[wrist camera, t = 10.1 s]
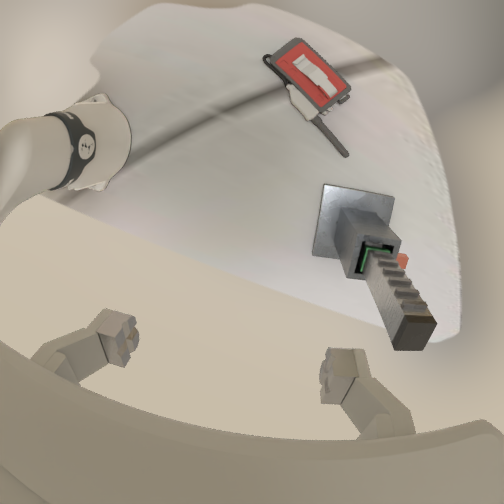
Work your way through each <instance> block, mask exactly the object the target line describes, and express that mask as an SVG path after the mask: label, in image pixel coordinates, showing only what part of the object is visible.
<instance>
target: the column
mask: <svg viewBox="0 0 504 504" xmlns="http://www.w3.org/2000/svg"><path fill="white" fill-rule="evenodd" d="M357 262H358V265H359V267H360V271H362V273H363V275H364V278H365V280H366V282H367V284H368V286H369V289H370V291H371V293H372V296H373V298H374V300H375V303H376V305H377V307H378V310H379V312H380V315H381V317H382V320H383V322H384V325H385V327H386V330H387V332H388V335H389V337H390V340H391V343H392V345H393V348H394V350H396V351H399V350H400V351H401V350H402V351H422V350H423V349H424V347H425V346H426V344H427V342H428V340H429V338H430V336H431V335H432V333H433V331H434V329H435V327H436V325H437V322H436V321H435V319H434V317H433V316H432V314H431V313H430V311H429V309H428V308H427V306H428V305H427V304H426V302H424V301H423V300H422V298H421V297H420V295H419V294H420V293H419V291H418V290H416V289H415V288H414V286H413V285H412V281H411V280H410V279H408V277H407V276H406V274H405V271H404V270H403V269H401V267H400V266H399V263H398V261H396V260H395V259H394V257H393V254H392V253H390V250H389V249H387V248H386V247H385V245H384V244H380V243H374V242H367V241H362V245H361V249H360V253H359V257H358V261H357Z"/></svg>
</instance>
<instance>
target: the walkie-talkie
mask: <svg viewBox="0 0 504 504" xmlns="http://www.w3.org/2000/svg"><path fill="white" fill-rule="evenodd" d="M267 57H270V64H271V65H270V64H269V63H268V62H267V61H266V58H267ZM263 61H264V63H265V64H266V65H267V66H269V67H270V68H271V69H272V70H273V71H274V72H275V73H276V74H277V75H278V76H279V77H280V78H281V79H282V80H283V81H284V83H285V85H286V88H287V89H288V90H289V91H290V98H291V103H292V104H293V105H294V106H295V107H296V108H297V109H298V110H299V112H300V113H301V114H302V115H303V116H304V118H305V119H306V120H307V121H309V120H311V121H312V122H313V123H314V124H315V125H316V126H318V127H319V128H320V130H321V131H322V132H323V133H324V134H325V135H326V136H327V137H328V139H329V140H330V141H331V142H332V143H333V145H334V146H335V147H336V148H337V149H338V150H339V152H340V153H341V154H342V155H343V156H344V157H345V158H347V157H348V156H349V153H348V151H347V150H346V149H345V148H344V146H343V145H342V144H341V143H340V142H339V141H338V139H337V138H336V137H335V136H334V135H333V134H332V132H331V131H330V130H329V129H328V128H327V127H326V126H325V125H324V123H323V122H322V120H321V118H320V117H319V116H318V115H317V114H318V113H322V114H323V115H324V116H325V115H326V114H327V113H328V111H329V112H330V111H331V110H333V108H332V105H333V104H334V103H335V102H337V101H338V100H339V103H340V104H342V103H344V102H345V101H346V100H347V99H349V98H350V95H346V94H347V93H348V92H349V91H350V90H351V86H350V85H349V84H348V83H347V82H346V81H345V80H344V79H343V78H342V77H341V75H340V74H339V73H338V72H337V71H336V70H335V69H334V68H333V67H332V66H331V65H329V64H328V63H327V62H326V60H324V59H323V57H321V55H319V54H318V53H317V52H316V51H315V50H313V48H311V47H310V45H308V43H306V42H305V41H304V40H302V38H294V39H293V40H291V41H290V42H289V43H287V44H286V45H285V46H283V47H282V48H281V49H279V50H278V51H277V52H276V53H274V54H273V55H270V54H266V55H264V56H263ZM287 81H288V83H290V84H291V85H290V84H288V83H287ZM327 110H328V111H327Z"/></svg>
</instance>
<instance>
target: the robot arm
mask: <svg viewBox="0 0 504 504" xmlns="http://www.w3.org/2000/svg"><path fill="white" fill-rule="evenodd" d="M96 100H97V102H96ZM130 145H131V133H130V128H129V124H128V122H127V119H126V118H125V116H124V115H123V113H122V112H121V111H120V110H119V109H117V108H116V107H115V106H113V105H112V104H111V102H110V100H109V98H108V96H107V95H106V94H104V93H102V94H97V95H95V96H93V97H91V98H88V99H86V100H84V101H82V102H79V103H75V104H74V106H71V107H69V108H67V109H66V110H64V111H59V112H53V113H49V114H46V115H44V116H42V117H33V118H24V119H17V120H14V121H11V122H10V123H8V124H7V125H5V126H4V127H3V128H2V129H1V130H0V225H1V223H2V222H3V221H4V220H5V218H6V217H7V216H8V215H9V214H10V212H11V211H12V210H13V209H14V208H15V207H17V206H18V205H19V204H21V203H22V202H24V201H26V200H28V199H29V198H31V197H33V196H35V195H37V194H39V193H42V192H44V191H46V190H50V191H51V190H56V189H61V188H65V187H67V189H68V190H73V189H75V190H81V189H84V188H88V189H92V190H95V191H103V190H104V189H105V188H106V187H107V185H108V183H109V180H110V179H111V178H112V177H113V176H114V175H115V174H116V173H117V172H118V171H119V170H120V169H121V168H122V167H123V165H124V163H125V162H126V160H127V157H128V154H129V151H130ZM135 325H136V319H135V317H134V316H132V315H128V314H124V313H121V312H118V311H113V310H110V309H107V308H106V309H103V310H102V311H101V312H100V313H99V314H98V316H97V317H96V318H95V319H94V320H93V321H92V322H91V324H90V325H89V326H88V327H87V328H86V329H85V328H82V329H80V330H77V331H75V332H72V333H70V334H67V335H65V336H62V337H59V338H57V339H55V340H52V341H50V342H47V343H44V344H43V345H42V346H41V347H40V348H39V350H38V351H37V352H36V353H35V354H34V355H33V357H32V358H31V359H28V358H26V357H25V356H23V355H21V354H20V353H18V352H17V351H15V350H14V349H12V348H10V347H9V346H8V345H6V344H5V343H3V342H2V341H0V504H504V435H503V434H502V433H501V432H500V431H499V430H498V429H497V428H495V427H494V426H493V425H492V424H491V423H489V422H487V421H486V420H483V419H481V420H476V421H472V422H468V423H465V424H461V425H457V426H453V427H449V428H445V429H440V430H435V431H430V432H425V433H418V434H416V431H415V427H414V423H413V420H412V416H411V413H410V410H409V409H408V408H407V407H406V406H405V405H403V404H402V403H401V402H400V401H399V400H398V399H397V398H396V397H395V396H394V395H393V394H392V393H391V392H390V391H388V390H387V389H386V388H385V387H384V386H383V385H382V384H381V383H380V382H379V381H378V380H377V379H376V378H372V377H371V373H370V369H369V365H368V361H367V358H366V354H365V351H364V349H349V348H331V347H328V349H327V351H326V354H325V355H326V359H325V360H324V361H323V362H322V365H321V368H320V376H319V380H320V383H321V385H322V388H321V391H320V396H321V403H322V404H339V405H341V407H342V408H343V410H344V411H345V413H346V414H347V415H348V417H349V418H350V419H351V421H352V422H353V424H354V425H355V426H356V428H357V429H358V430H359V432H360V433H361V435H360V436H359V437H358V438H357V439H356V440H337V441H336V440H335V441H334V440H333V441H332V440H328V441H327V440H295V439H281V438H270V437H261V436H253V435H246V434H239V433H233V432H226V431H221V430H216V429H211V428H206V427H201V426H197V425H192V424H188V423H184V422H180V421H176V420H173V419H169V418H165V417H162V416H158V415H155V414H152V413H149V412H146V411H142V410H139V409H136V408H134V407H130V406H128V405H125V404H122V403H119V402H117V401H114V400H112V399H109V398H107V397H104V396H102V395H99V394H97V393H95V392H92V391H90V390H87V389H85V388H83V387H81V385H80V384H79V382H80V381H81V380H83V379H85V378H86V377H88V376H89V375H91V374H93V373H94V372H96V371H98V370H99V369H101V368H102V367H104V366H106V365H107V364H108V363H110V364H114V365H117V366H120V367H125V366H126V364H127V362H128V361H129V359H130V358H131V357H130V353H131V352H133V351H135V349H136V348H137V346H138V342H139V332H138V330H137V329H136V328H135Z"/></svg>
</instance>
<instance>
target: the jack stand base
mask: <svg viewBox="0 0 504 504" xmlns="http://www.w3.org/2000/svg"><path fill="white" fill-rule="evenodd" d="M394 200H395V198H394V197H392V196H387V195H382V194H377V193H372V192H367V191H362V190H356V189H351V188H345V187H340V186H334V185H327V184H324V187H323V194H322V200H321V206H320V212H319V218H318V224H317V230H316V235H315V241H314V246H313V251H312V255H313V256H318V257H326V258H333V259H340V261H341V264H342V266H343V269H344V272H345V275H346V278H350V279H358V280H365V278H364V275H363V273H362V271H360V267H359V265H358V262H357V261H358V257H359V253H360V249H361V245H362V241H367V242H374V243H380V244H384V245H385V247H386V248H387V249H389V250H390V253H392V254H393V257H394V259H395V260H396V261H398V263H399V266H400V267H401V269H405V268H406V265H407V262H408V259H409V258H408V257H407V255H406V254H401V253H398V252H399V248H400V245H401V239H400V238H399V237H398V236H397V235H396V234H395V233H394V232H393V231H392V230H391V229H390V228H389V227H388V226H389V222H390V218H391V214H392V210H393V205H394Z"/></svg>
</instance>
